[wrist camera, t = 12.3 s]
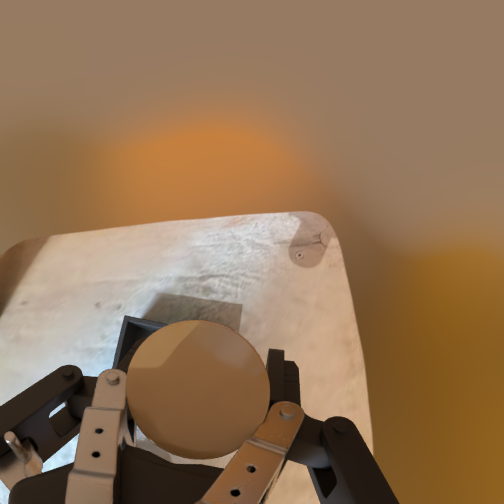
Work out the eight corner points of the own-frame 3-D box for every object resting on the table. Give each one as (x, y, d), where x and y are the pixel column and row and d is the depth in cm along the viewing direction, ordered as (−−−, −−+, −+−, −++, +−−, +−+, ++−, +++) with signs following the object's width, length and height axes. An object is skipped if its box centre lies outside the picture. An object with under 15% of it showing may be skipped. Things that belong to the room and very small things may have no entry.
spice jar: (165, 405, 16) (101, 403, 8) (206, 341, 18) (173, 294, 10) (234, 447, 15) (221, 485, 7) (276, 381, 17) (297, 363, 9)
